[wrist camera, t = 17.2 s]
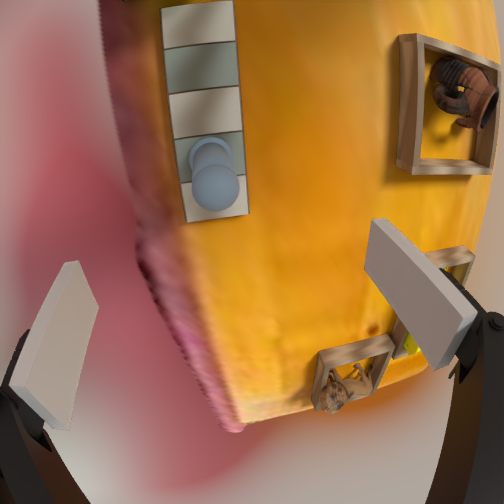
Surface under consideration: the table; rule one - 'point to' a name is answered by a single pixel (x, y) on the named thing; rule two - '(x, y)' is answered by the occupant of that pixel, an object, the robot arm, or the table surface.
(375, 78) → the table surface
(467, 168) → the frame
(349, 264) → the table surface
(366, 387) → the lion figurine
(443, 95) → the pottery mug
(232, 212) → the track
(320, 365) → the figurine organizer frame
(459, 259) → the camera organizer frame
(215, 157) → the blue-grey rounded peg
